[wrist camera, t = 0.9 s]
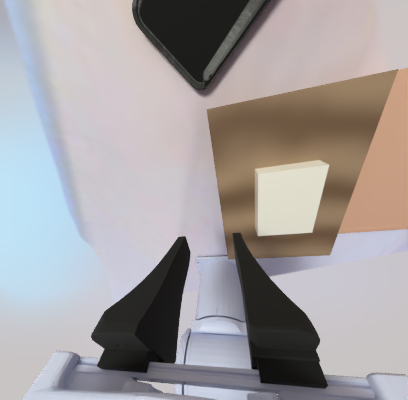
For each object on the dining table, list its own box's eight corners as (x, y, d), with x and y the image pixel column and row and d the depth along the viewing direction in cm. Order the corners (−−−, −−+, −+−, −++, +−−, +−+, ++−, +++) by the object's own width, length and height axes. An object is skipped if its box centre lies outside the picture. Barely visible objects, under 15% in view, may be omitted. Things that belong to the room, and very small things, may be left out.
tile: (305, 224, 18) (312, 232, 17) (255, 227, 19) (257, 236, 18) (319, 159, 14) (329, 164, 13) (254, 168, 15) (258, 174, 14)
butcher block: (319, 241, 23) (329, 255, 20) (227, 246, 25) (228, 259, 23) (367, 76, 13) (398, 69, 11) (208, 110, 15) (206, 109, 13)
